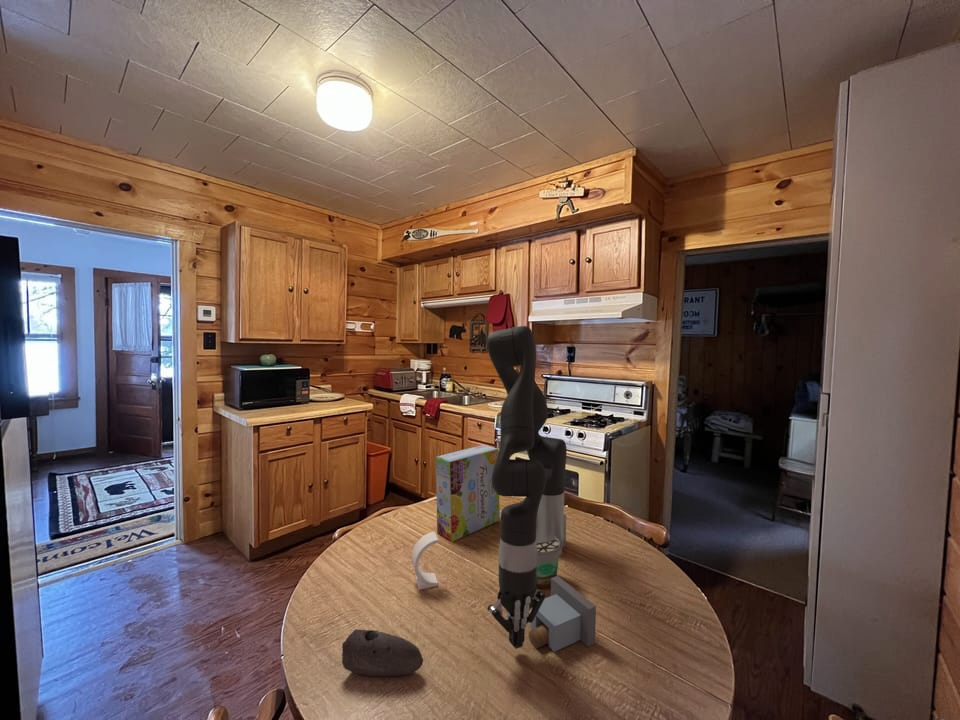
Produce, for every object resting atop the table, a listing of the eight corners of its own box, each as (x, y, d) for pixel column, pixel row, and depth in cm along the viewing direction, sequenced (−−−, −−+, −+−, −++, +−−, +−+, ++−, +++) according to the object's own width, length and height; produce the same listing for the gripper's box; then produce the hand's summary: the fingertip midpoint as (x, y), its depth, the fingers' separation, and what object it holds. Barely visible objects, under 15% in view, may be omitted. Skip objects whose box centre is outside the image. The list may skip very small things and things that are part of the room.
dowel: (557, 625, 86) (560, 613, 86) (567, 638, 84) (569, 626, 83) (527, 638, 83) (530, 626, 82) (536, 652, 80) (539, 640, 79)
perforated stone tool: (426, 664, 76) (426, 629, 76) (418, 688, 71) (418, 651, 70) (352, 656, 78) (352, 622, 78) (339, 678, 73) (339, 642, 72)
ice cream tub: (531, 598, 96) (532, 558, 96) (517, 584, 101) (518, 546, 101) (571, 584, 102) (572, 546, 101) (556, 571, 107) (556, 535, 107)
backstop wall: (557, 609, 92) (557, 575, 92) (595, 643, 82) (595, 606, 81) (550, 611, 91) (550, 578, 91) (587, 647, 81) (588, 609, 80)
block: (556, 616, 89) (556, 594, 89) (580, 639, 82) (580, 615, 82) (530, 627, 86) (531, 603, 86) (554, 652, 79) (554, 626, 79)
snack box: (483, 513, 143) (484, 443, 142) (500, 522, 137) (501, 448, 135) (434, 533, 128) (434, 454, 127) (451, 543, 122) (451, 461, 121)
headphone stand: (438, 585, 101) (438, 539, 100) (414, 590, 99) (414, 543, 98) (434, 575, 105) (434, 531, 104) (411, 580, 103) (411, 535, 102)
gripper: (533, 543, 85) (531, 622, 85) (479, 559, 78) (478, 644, 79) (556, 560, 78) (554, 645, 79) (499, 579, 72) (498, 671, 72)
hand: (516, 645), depth 79 cm, fingers closed
